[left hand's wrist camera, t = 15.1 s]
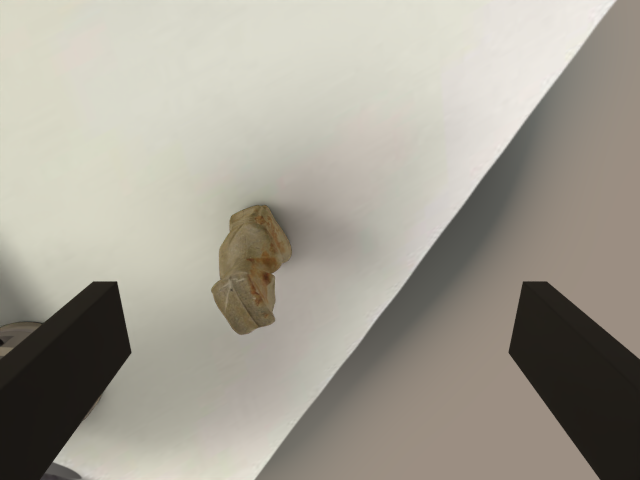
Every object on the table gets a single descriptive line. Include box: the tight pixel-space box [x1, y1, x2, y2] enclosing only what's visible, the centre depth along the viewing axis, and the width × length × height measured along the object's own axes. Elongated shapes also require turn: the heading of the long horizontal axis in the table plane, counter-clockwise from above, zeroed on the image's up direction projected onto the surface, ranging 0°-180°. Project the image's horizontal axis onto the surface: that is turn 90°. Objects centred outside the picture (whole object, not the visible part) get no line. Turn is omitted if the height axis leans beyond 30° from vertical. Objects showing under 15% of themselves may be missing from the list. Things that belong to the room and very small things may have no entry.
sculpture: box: [211, 205, 292, 335], centre depth 36 cm, size 6×7×15 cm
